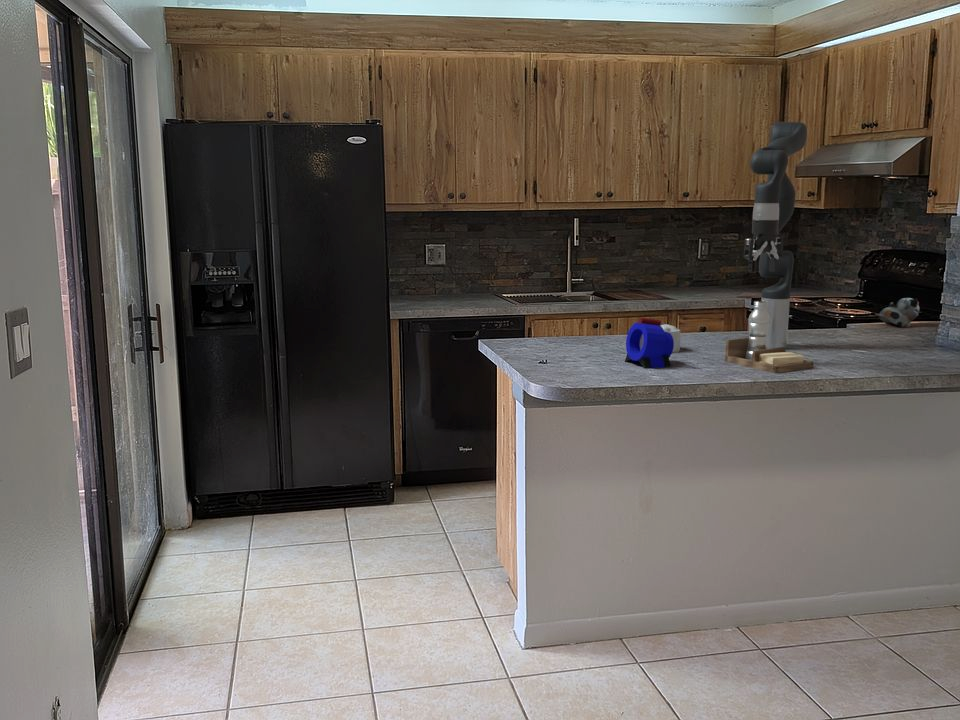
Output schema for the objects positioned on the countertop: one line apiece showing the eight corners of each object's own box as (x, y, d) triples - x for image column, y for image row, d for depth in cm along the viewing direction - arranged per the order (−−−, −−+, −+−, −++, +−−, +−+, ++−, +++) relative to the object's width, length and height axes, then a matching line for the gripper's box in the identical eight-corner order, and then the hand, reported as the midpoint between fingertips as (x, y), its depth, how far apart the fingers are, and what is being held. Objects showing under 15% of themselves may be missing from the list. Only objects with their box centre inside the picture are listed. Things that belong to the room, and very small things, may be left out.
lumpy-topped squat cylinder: (683, 351, 296) (684, 326, 294) (649, 354, 292) (650, 328, 290) (667, 346, 306) (668, 322, 304) (633, 348, 302) (634, 323, 300)
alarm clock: (622, 361, 279) (624, 315, 276) (656, 359, 283) (658, 313, 280) (642, 369, 268) (644, 320, 265) (677, 366, 272) (679, 318, 269)
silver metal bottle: (740, 364, 274) (744, 300, 271) (757, 362, 277) (761, 299, 273) (754, 368, 269) (758, 303, 265) (772, 366, 271) (776, 302, 268)
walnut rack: (724, 365, 274) (726, 339, 272) (761, 360, 281) (763, 335, 280) (774, 377, 256) (776, 350, 255) (812, 371, 264) (814, 345, 263)
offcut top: (758, 360, 266) (759, 353, 265) (788, 358, 269) (789, 351, 269) (772, 364, 260) (773, 358, 259) (803, 362, 263) (803, 356, 263)
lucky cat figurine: (882, 321, 363) (903, 292, 359) (909, 336, 355) (930, 306, 352) (872, 314, 351) (892, 284, 348) (899, 330, 344) (920, 299, 341)
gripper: (772, 217, 271) (769, 270, 274) (739, 218, 264) (736, 272, 267) (792, 218, 265) (788, 272, 268) (758, 219, 258) (754, 274, 261)
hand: (762, 272), depth 267 cm, fingers open, 8 cm apart
